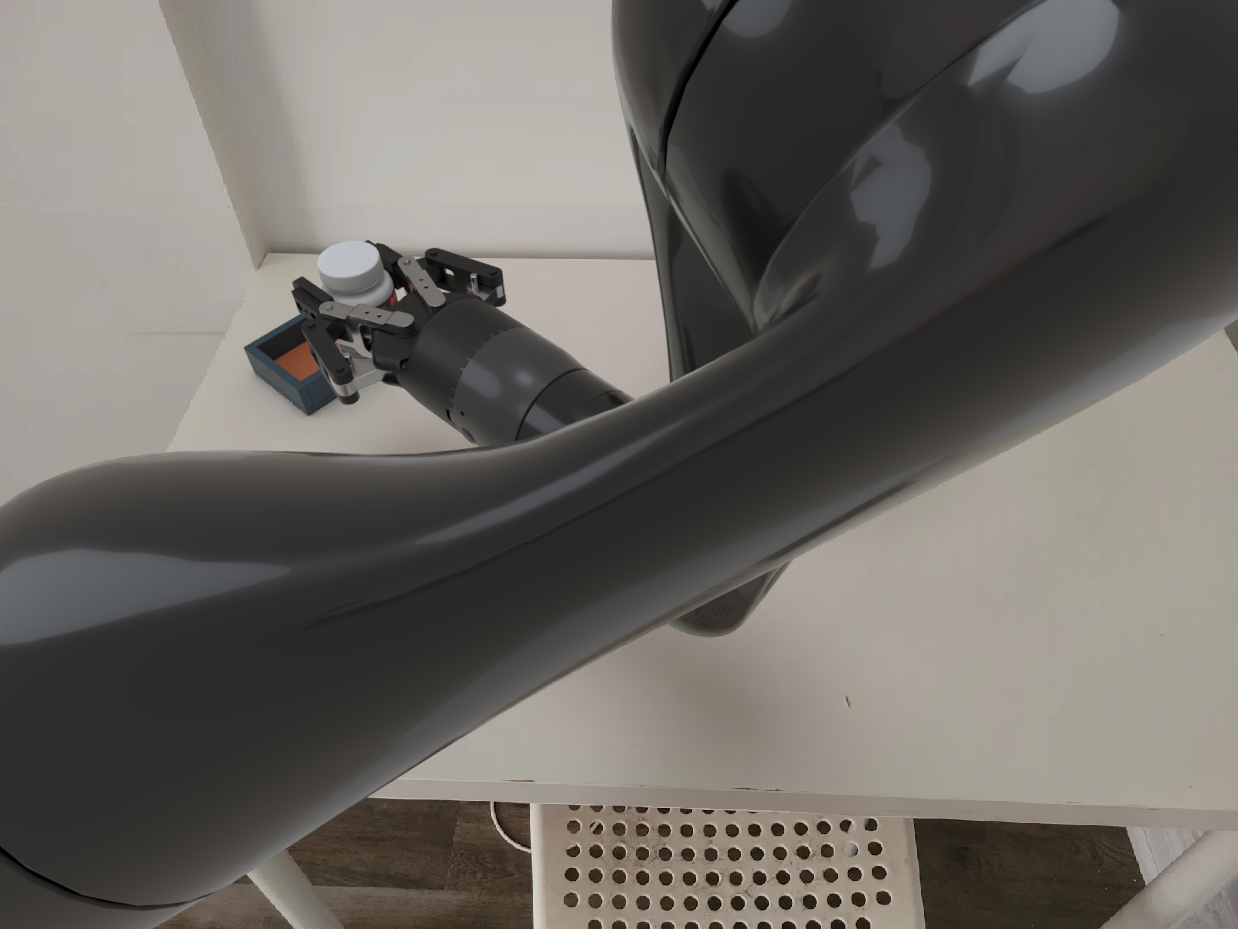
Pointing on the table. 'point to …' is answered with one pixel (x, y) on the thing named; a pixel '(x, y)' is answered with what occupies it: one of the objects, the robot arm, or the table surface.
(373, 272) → the pill bottle
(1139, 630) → the table surface
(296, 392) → the tray
